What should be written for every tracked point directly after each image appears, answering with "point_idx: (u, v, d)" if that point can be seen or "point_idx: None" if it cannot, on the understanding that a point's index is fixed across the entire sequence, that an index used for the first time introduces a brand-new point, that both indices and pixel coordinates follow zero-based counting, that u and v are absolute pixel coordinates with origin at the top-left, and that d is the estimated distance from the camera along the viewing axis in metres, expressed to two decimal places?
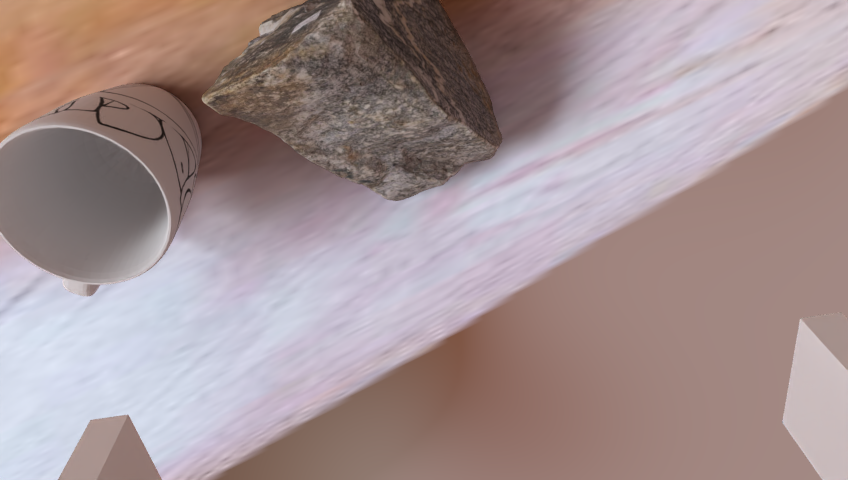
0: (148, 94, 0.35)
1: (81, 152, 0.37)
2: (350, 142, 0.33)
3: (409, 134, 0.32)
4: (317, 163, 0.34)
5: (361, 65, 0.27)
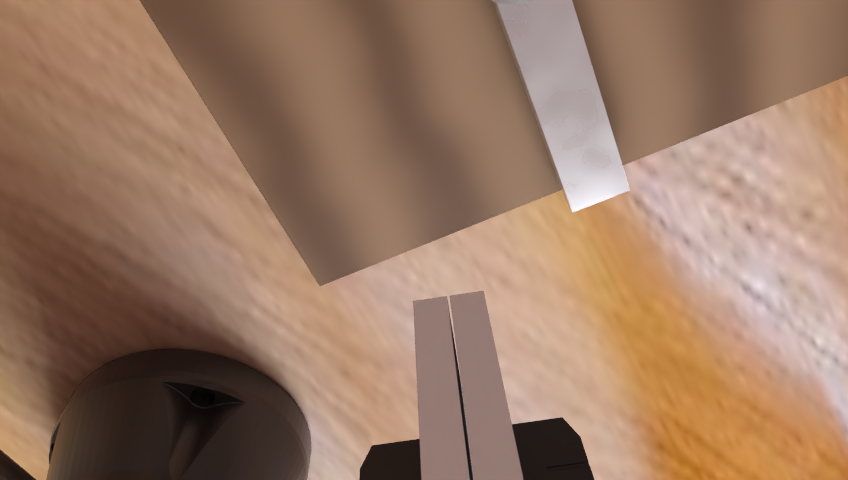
0: None
1: None
2: None
3: None
4: None
5: None
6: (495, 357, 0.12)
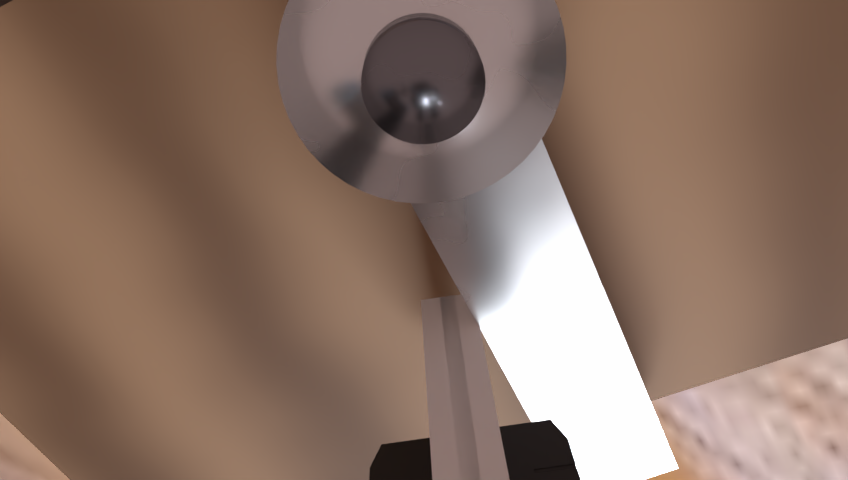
0: None
1: None
2: None
3: None
4: None
5: None
6: (483, 359, 0.12)
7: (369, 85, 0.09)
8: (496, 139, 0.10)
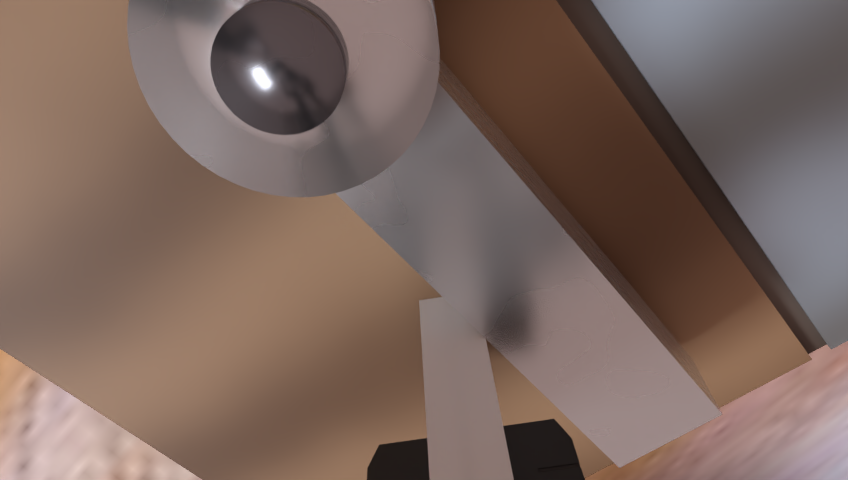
0: None
1: None
2: None
3: None
4: None
5: None
6: (487, 358, 0.12)
7: (224, 85, 0.09)
8: (386, 108, 0.10)
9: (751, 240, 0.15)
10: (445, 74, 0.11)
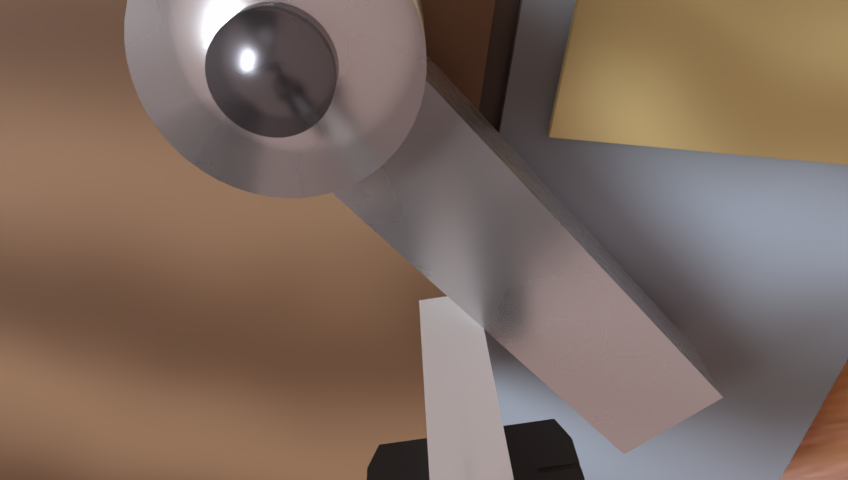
0: None
1: None
2: None
3: None
4: None
5: None
6: (487, 358, 0.12)
7: (219, 92, 0.09)
8: (377, 108, 0.10)
9: None
10: (435, 73, 0.12)
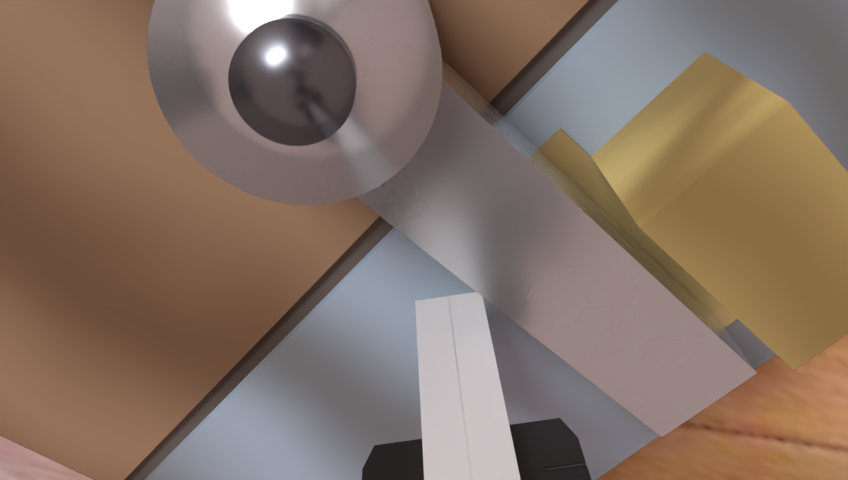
0: None
1: None
2: None
3: None
4: None
5: None
6: (493, 357, 0.12)
7: (243, 105, 0.09)
8: (396, 110, 0.10)
9: (208, 411, 0.18)
10: (448, 72, 0.12)
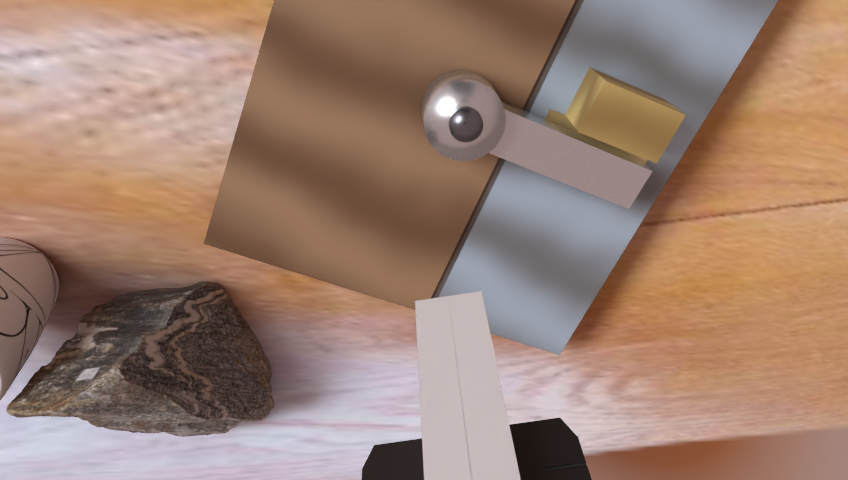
0: (29, 270, 0.41)
1: None
2: (136, 421, 0.43)
3: None
4: (111, 428, 0.44)
5: (127, 403, 0.38)
6: (493, 357, 0.12)
7: (455, 135, 0.35)
8: (494, 122, 0.35)
9: (453, 264, 0.43)
10: (505, 105, 0.37)
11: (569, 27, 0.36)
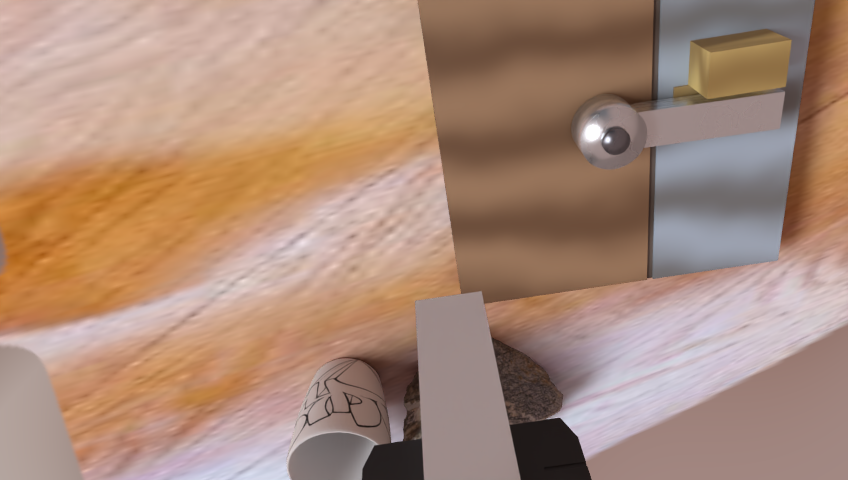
0: (360, 376, 0.57)
1: None
2: None
3: None
4: None
5: None
6: (493, 357, 0.12)
7: (611, 152, 0.43)
8: (636, 127, 0.43)
9: (652, 234, 0.51)
10: (637, 106, 0.44)
11: (659, 22, 0.43)
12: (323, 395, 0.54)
